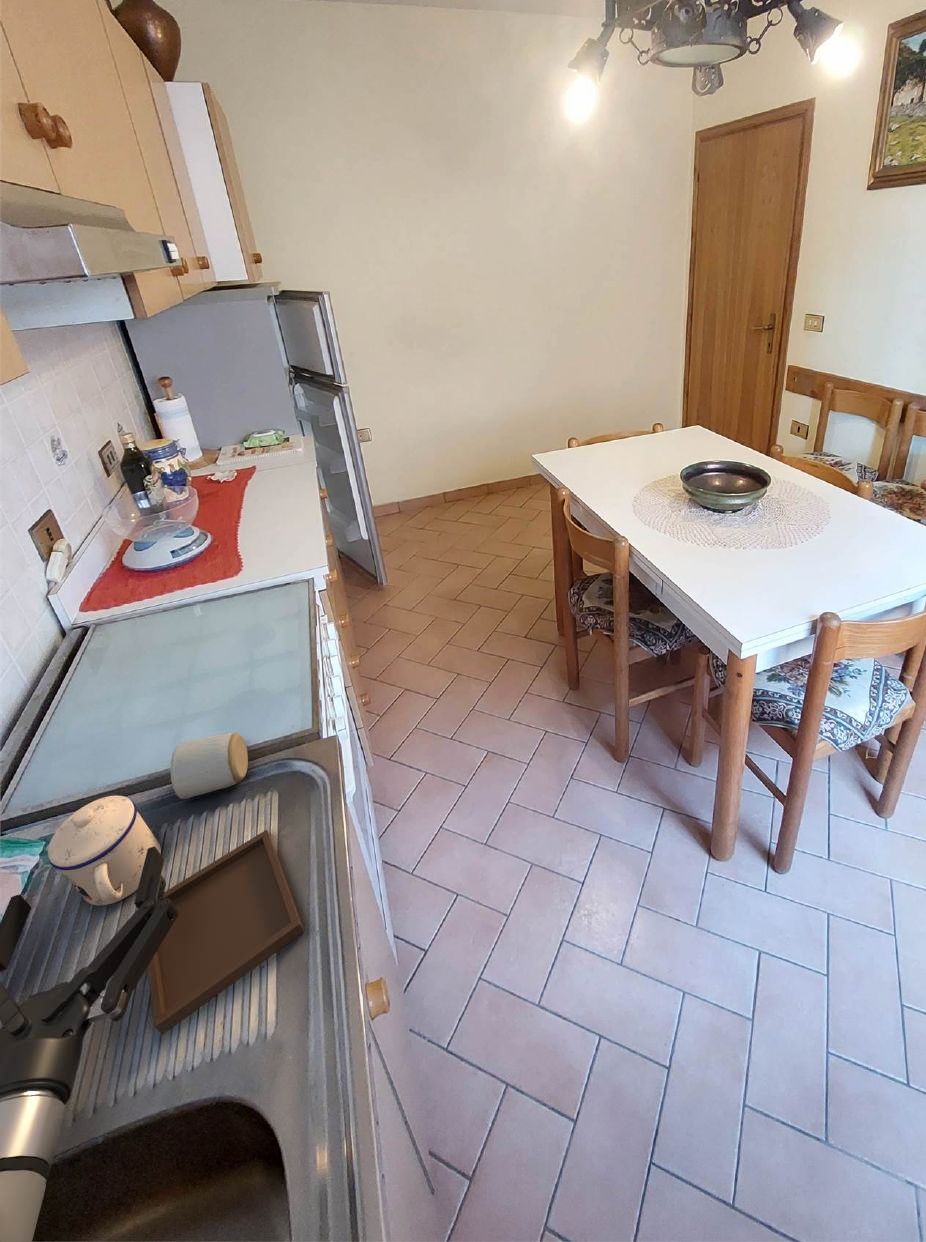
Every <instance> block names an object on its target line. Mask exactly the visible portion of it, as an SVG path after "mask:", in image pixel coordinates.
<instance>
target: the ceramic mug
mask: <svg viewBox="0 0 926 1242" xmlns="http://www.w3.org/2000/svg"><path fill="white" fill-rule="evenodd" d="M248 767H249V753H248V748H247V743H246V741H245V739H244V736H242V735H241V734H240V733H237V732H231V733H230V732H229V733H222V734H218V735H214V736H209V737H203V738H198V739H193V740H192V739H191V740H188V741H183V742H179V744H177V745H176V746H175V748H174V750H173V752H172V756H171V761H170V767H169V768H170V770H169V771H170V780H171V781H170V782H171V786H172V788H173V791H174V792H175V793H174V794H176V796H177V797H178V798H179V799H181V800H187V799H190V798H194V797H197V796H201V795H205V794H208V793H211V792H214V791H218V790H222V789H225V788H229V787H232V786H234V785H237V784H239V783H241V782H242V781H243V780H244V778H245V777H246V775H247V772H248Z"/></svg>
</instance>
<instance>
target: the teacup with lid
mask: <svg viewBox="0 0 926 1242" xmlns="http://www.w3.org/2000/svg"><path fill="white" fill-rule="evenodd" d="M154 846H155V847H156V848H157V850H158V851H159V853H160V854H161V853H162V849H161V845H160V842H159V841H158V839H157V838H156V836H155V835H154V834H153V832H152V831H151V829H150V828H149V826H148V825H147V823H146V822H145V820H144V818H143V817H142V816H141V815H140V813H139V812H138V808H137V805H136V803H135V802H134V801H133V800H132V799H131V798H128V797H126V796H125V795H124V796H123V795H108V796H105V797H101V798H97V799H96V800H93V801H91V802H90V803H87V804H86V805H84V806H82V807H80V808H79V809H78V810H76V811H75V812H73V814H71V815H69V817H67V819H65V820H64V822H62V824H61V825H60V826H59V827H58V828H57V829H56V831H55V832H54V833H53V835H52V837H51V838H50V841H49V844H48V848H47V859H48V862H49V864H50V865H51V866H52V867H53V869H56V870H58V871H60V873H61V874H62V875H63V876H64V877H65V878H66V880H67V881H69V883H70V884H71V885H72V886H73V887H74V889H75V890H76V891H77V892H78V893H79V894H80V896H81V897H82V898H83V899H84V900H85V901H86V902H87V903H88V904H90V905H93V906H101V907H102V906H108V905H112V904H116V903H117V902H120V901H122V900H123V899H125V898H127V897H128V896H130V895H132V894H133V893H134V892H137V890H138V886H139V882H140V878H141V874H142V870H143V866H144V862H145V858H146V854H147V850H148V848H151V847H154ZM161 855H162V854H161Z"/></svg>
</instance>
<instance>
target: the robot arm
mask: <svg viewBox="0 0 926 1242" xmlns="http://www.w3.org/2000/svg"><path fill="white" fill-rule="evenodd" d="M164 861H165V858H164V857H163V855H162V854H160V853H159V851H158V850H157V848H156V847H155V846H154V847H151V848H148V850H147V854H146V858H145V862H144V866H143V870H142V874H141V878H140V882H139V886H138V889H137V890H136V894H135V898H134V903H133V904H134V906H135V907H136V908H137V910H135V911H134V913H133V914H132V915H131V916H130V917H129V919H128V920H127V921H126V922H125V923H124V924H123V925H122V927H120V929H119V930H118V931H117V932H116V933H115V934H114V936H113V937H112V938H111V939H110V940H109V942H108V943H106V945H105V946H104V947H103V948H102V949H101V951H100V952H99V953H98V954H97V955H96V956H95V958H93V960H92V961H91V962H90V963H89V964H88V965H87V966H85V967H81V969H80V970H79V971H77V973H76V974H75V975H74V976H73V977H72V979H70V981H69V982H68V981H63V982H61V983H58V984H56V985H54V986H53V987H51V988H49V989H48V990H42V991H37V992H35V993H33V994H30V995H28V999H26V1000H25V1001H24V1002H22V1003H21V1004H19V1003H18V1001H17V999H15V998H14V997H13V995H12V994H11V993H10V991H9V990H8V989H7V988H6V986H5V985H4V983H2V981H1V980H0V1023H1V1024H2V1026H1V1027H0V1242H33V1239H34V1235H35V1231H36V1227H37V1223H38V1220H39V1215H40V1211H41V1207H42V1203H43V1200H44V1196H45V1192H46V1188H47V1182H48V1178H49V1175H50V1171H51V1169H52V1165H53V1160H54V1157H55V1153H56V1149H57V1147H58V1146H57V1145H58V1142H59V1138H60V1134H61V1131H62V1127H63V1123H64V1120H65V1116H66V1112H67V1107H66V1105H67V1103H68V1102H69V1100H70V1098H71V1095H72V1093H73V1092H72V1091H73V1088H74V1083H75V1081H76V1076H77V1072H78V1069H79V1065H80V1061H81V1059H82V1050H83V1041H84V1038H85V1036H86V1033H87V1032H88V1030H89V1029H90V1027H91V1026H92V1024H93V1023H96V1022H99V1021H103V1020H107V1019H110V1020H111V1021H112V1022H114V1023H115V1022H116V1023H117V1022H119V1021H121V1019H123V1018H124V1017H125V1015H126V1013H127V1010H128V1007H129V1005H130V1001H131V997H132V994H133V992H134V990H135V989H136V987H137V985H138V984H139V982H140V980H141V978H142V976H143V975H144V973H145V972H146V971H147V967H148V965H149V963H150V962H151V960H152V958H153V957H154V955H155V953H156V952H157V950H158V948H159V947H160V945H161V943H162V942H163V940H164V938H165V937H166V935H167V933H168V932H169V930H170V928H171V927H172V925H173V923H174V922H175V920H176V918H177V917H178V915H179V912H178V910H177V909H176V907H175V906H174V905H173V903H172V902H171V901H170V899H168V898H166V899H164V900H163V896H164V892H165V891H166V887H167V886H166V885H167V881H166V879H165V878H164V876H163V875H162V871H163V868H164V867H163V866H164V863H165V862H164ZM31 910H32V905H30V904H29V902H28V901H26V899H24V897H23V896H22V895H21V894H20V893H18V894H15V895H13V896H11V897H10V899H9V901H8V904H7V906H6V908H5V911H4V913H3V915H2V918H1V920H0V973H1V972H4V971H7V970H8V969H9V966H10V963H11V961H12V958H13V956H14V954H15V951H16V948H17V947H18V943H19V941H20V938H21V936H22V933H23V931H24V928H25V927H26V923H27V920H28V918H29V915H30V913H31ZM109 980H110V981H109ZM107 983H108V984H107ZM84 985H86V986H87V987H88V990H87V991H86V992H85V993H84V992H83V990H82V988H83V986H84ZM97 1000H98V1001H97ZM96 1001H97V1002H96Z"/></svg>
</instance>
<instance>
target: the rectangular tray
mask: <svg viewBox="0 0 926 1242" xmlns="http://www.w3.org/2000/svg"><path fill="white" fill-rule="evenodd" d="M166 898H168V899H170V901H171V902H172V903H173V905H174V906H175V907H176V909H177V910H178V912H179V915H178V917H177V918H176V920H175V922H174V923H173V925H172V927H171V928H170V930H169V932H168V933H167V935H166V937H165V938H164V940H163V942H162V943H161V945H160V947H159V948H158V950H157V952H156V953H155V955H154V957H153V958H152V960H151V962H150V963H149V965H148V967H147V968H146V970H147V976H148V984H149V992H150V1001H151V1009H152V1016H153V1025H154V1028H155V1029H156V1030H157V1031H158V1032H159V1033H160V1034H161V1035H164V1034H165V1033H166V1032H167V1031H169V1030H170V1029H171V1028H174V1026H176V1025H177V1024H178V1023H180V1022H181V1021H183V1020H185V1019H186V1018H187V1017H188V1016H190V1015H192V1014H193V1013H194V1012H195V1011H197V1010H198V1009H199V1008H201V1007H202V1006H204V1005H205V1004H206V1003H208V1002H209V1001H211V1000H212V999H214V998H215V997H217V995H219V994H220V993H222V992H223V991H224V990H226V989H227V988H229V987H230V986H231V985H233V984H234V983H236V982H237V981H239V980H240V979H241V978H243V977H244V976H246V975H247V974H248V973H250V972H251V971H252V970H254V969H255V968H256V967H258V966H259V965H260V964H262V963H263V962H265V961H266V960H268V959H269V958H270V957H272V956H273V955H274V954H275V953H277V952H278V951H280V950H281V949H283V948H284V947H286V946H287V945H288V944H290V943H291V942H293V940H295V939H297V938H298V937H299V936H301V935H302V934H304V933H305V928H304V926H303V923H302V920H301V917H300V914H299V911H298V909H297V907H296V903H295V900H294V898H293V894H292V893H291V889H290V887H289V884H288V881H287V877H286V875H285V872H284V869H283V866H282V864H281V862H280V858H279V856H278V853H277V850H276V847H275V844H274V842H273V838H272V836H271V834H270V833H269V831H268V829H265V830H262V832H260V833H259V834H257V835H255V836H253V837H251V838H250V839H248V840H247V841H245V842H243V843H242V844H240V845H238V846H237V847H236V848H234V849H232V850H231V851H228V852H227V853H225V854H224V855H223V856H220V857H219V858H217V859H216V860H214V861H212V862H211V863H209V864H208V865H206V866H204V867H202V868H201V869H200V870H198V871H196V872H195V873H193V874H191V875H190V876H188V877H186V878H185V879H183V880H181V881H180V882H178V883H176V884H174V886H172V887H170V888H169V889H166V890H165V891H164V896H163V900H164V899H166Z"/></svg>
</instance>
